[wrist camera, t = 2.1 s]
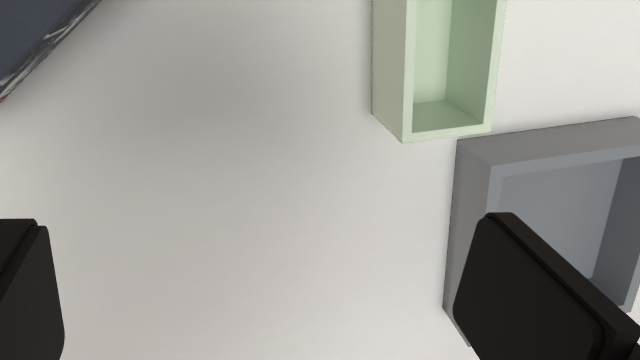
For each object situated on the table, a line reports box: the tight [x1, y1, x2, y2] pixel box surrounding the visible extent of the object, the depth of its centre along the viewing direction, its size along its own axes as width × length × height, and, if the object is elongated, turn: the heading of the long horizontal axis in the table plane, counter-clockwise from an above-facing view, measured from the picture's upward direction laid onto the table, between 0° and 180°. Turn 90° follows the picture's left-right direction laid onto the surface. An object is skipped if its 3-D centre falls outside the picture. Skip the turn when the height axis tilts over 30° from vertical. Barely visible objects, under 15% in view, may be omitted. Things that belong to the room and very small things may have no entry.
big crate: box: [442, 116, 640, 347], centre depth 40 cm, size 17×16×5 cm
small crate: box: [372, 0, 507, 144], centre depth 31 cm, size 9×6×6 cm, turn 3°
